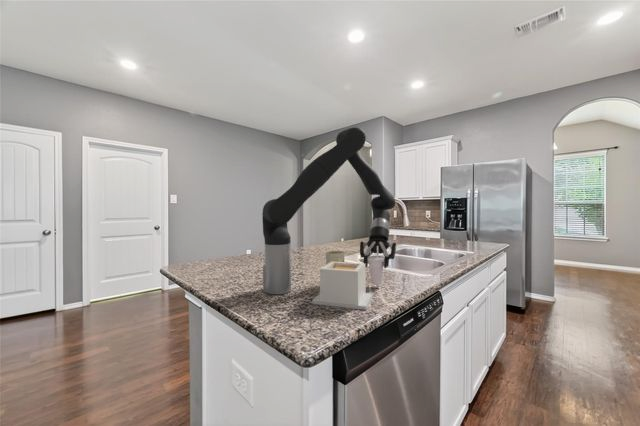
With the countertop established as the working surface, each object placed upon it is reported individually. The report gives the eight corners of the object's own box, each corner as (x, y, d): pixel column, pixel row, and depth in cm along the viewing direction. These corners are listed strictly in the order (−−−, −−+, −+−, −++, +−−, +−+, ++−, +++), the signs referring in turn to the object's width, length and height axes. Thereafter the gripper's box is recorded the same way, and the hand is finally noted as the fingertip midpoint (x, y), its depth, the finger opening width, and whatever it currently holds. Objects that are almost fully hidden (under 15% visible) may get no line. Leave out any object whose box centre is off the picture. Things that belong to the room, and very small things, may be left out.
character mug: (349, 289, 100) (348, 254, 99) (330, 291, 98) (329, 255, 98) (340, 281, 110) (339, 249, 110) (323, 283, 109) (322, 250, 108)
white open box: (312, 303, 86) (311, 268, 85) (325, 291, 98) (325, 260, 98) (366, 309, 80) (366, 272, 80) (373, 296, 92) (373, 263, 92)
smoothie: (386, 285, 99) (386, 247, 99) (369, 285, 99) (368, 247, 99) (383, 280, 105) (382, 244, 105) (366, 281, 105) (366, 244, 105)
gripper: (360, 225, 111) (354, 259, 100) (397, 225, 106) (395, 261, 95) (363, 236, 116) (357, 270, 105) (398, 237, 111) (396, 273, 101)
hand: (375, 266), depth 100 cm, fingers closed on smoothie, 6 cm apart
